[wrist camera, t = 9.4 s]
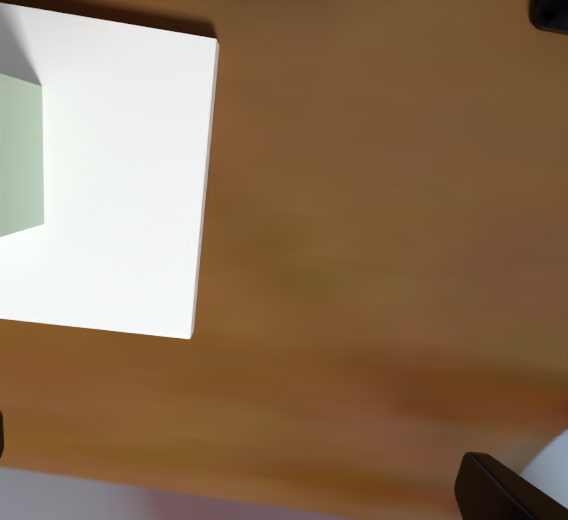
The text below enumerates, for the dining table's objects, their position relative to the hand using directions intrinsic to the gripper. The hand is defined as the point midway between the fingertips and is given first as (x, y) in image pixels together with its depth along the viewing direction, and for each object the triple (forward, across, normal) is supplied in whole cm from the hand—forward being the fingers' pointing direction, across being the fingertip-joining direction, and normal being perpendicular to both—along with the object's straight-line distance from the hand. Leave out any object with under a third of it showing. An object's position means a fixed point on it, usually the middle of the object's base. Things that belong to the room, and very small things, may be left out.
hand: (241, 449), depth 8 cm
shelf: (+13, +10, -3) cm, 16 cm away
